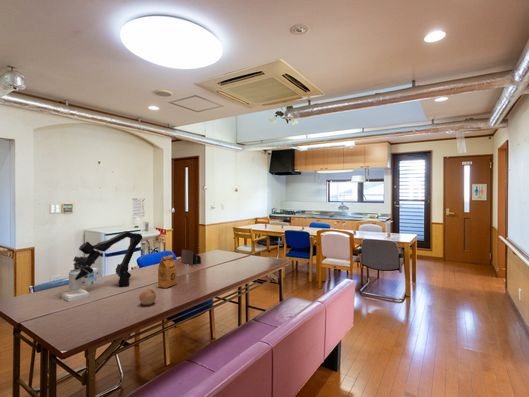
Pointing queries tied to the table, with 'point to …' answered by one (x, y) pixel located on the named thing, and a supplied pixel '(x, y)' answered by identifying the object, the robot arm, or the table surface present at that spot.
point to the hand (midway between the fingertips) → (73, 278)
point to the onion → (147, 297)
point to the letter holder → (190, 258)
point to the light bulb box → (91, 277)
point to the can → (72, 282)
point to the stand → (75, 295)
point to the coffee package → (167, 272)
